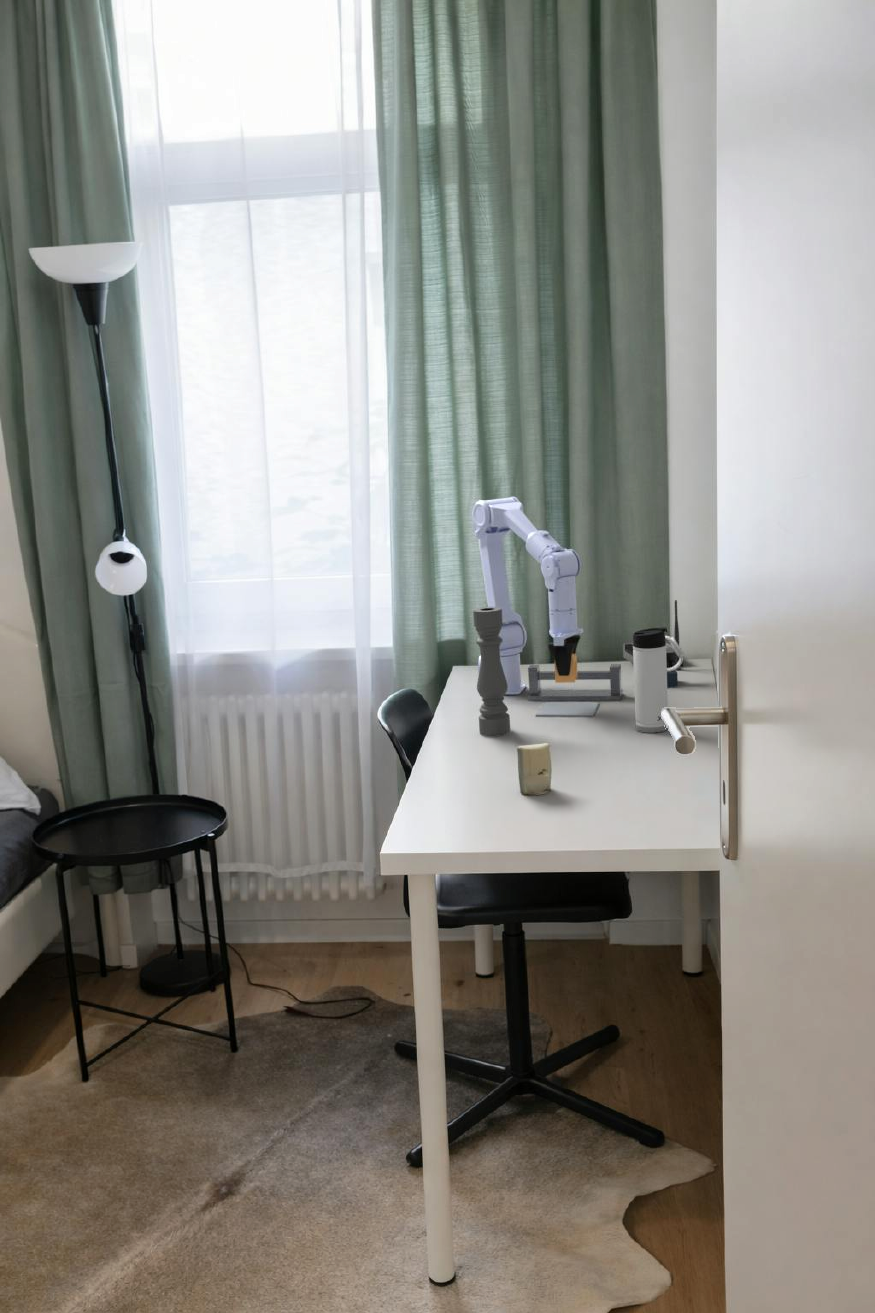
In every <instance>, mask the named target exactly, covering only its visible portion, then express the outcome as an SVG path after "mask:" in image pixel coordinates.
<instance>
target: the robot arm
mask: <svg viewBox="0 0 875 1313" xmlns="http://www.w3.org/2000/svg"><path fill="white" fill-rule="evenodd" d="M471 519H472V524H473V531H474V537H475V538H476V539H477V540H478V546H479V553H480V562H481V568H482V569H481V570H482V574H483V581H484V582H483V583H484V589H485V597H486V603H487V607H500V608H502V620H503V623H504V624H503V625H502V626H501V627H502V628H501V630H500V633H499V637H501V638H502V639H503V641H502V643H501V644H500V646H499V647H500V661H501V664H502V668H503V671H504V675H505V678H506V681H507V684H508V688H507V692H506V694H505V695H521V693H522V692H523V690H524V689H525V688H526V687H527V685H526V684H524V683H523V684H522V674H521V673H522V672H521V657H520V656H521V655H520V653H522V652H523V649H524V648H525V646H526V644H527V639H528V635H527V630H526V628H525V626H524V623H523V619H522V616H521V615H520V614H519V613H517V612H516V611H514V610H513V609H512V606H511V598H510V591H509V583H508V576H507V569H506V562H505V555H504V548H503V540H504V539H505V537H506V536H507V535H508V534H510V533H511V531H512V532H513V533H514V534H516V535H517V536H518V537H519V538H520V539H522V540H523V541H524V542H525V550H526V551H527V552H528V553H529V554H530V556H531V557H532V558H533V559H534V560H535V561H536V562H537V563H538V564H540V570H541V574H542V576H543V578H544V585H545V588H546V589H547V591H548V592H547V594H548V611H549V612H548V613H549V614H548V616H549V630H548V632H549V635H550V636H551V637H552V638H553V639H552V640H553V641H549V642H548V643H547V646H548V649H549V651H550V653H551V654H552V657H553V660H555V663H556V667H557V671H558V674H559V676H569V673H570V668H571V658H572V654H577V653H576V652H577V649H578V648H577V647H578V644H579V641H580V639H581V635H580V634H583V633H584V628H579V626H578V611H577V608H578V606H577V590H576V587H577V585H576V577H577V576H579V574H580V573H581V568H582V567H581V566H582V565H581V560H580V556H579V555H578V553H577V552H576V551H575V550H574V549H572V548H569V549H567V548H564V547H563V546H561V545H560V544H559V543H558V542H557V540H555V539H554V537H553V536H552V535H551V534H550V532H548V530H543V529H542V530H538V529H537V528H536V526H535V525H534V524H533V523H532V521H530V519H529V518H528V516H527V515H526V514H525V512H524V505H523V503H522V502H520V500H519V499H518V498H517V497H516V496H510V497H503V498H494V499H487V500H484V499H482V500H477V501H476V502H475V504H474V506H473V509H472V510H471ZM555 663H554V664H555ZM480 664H481V655H479V657H478V664H477V666H478V667H477V669H478V673H479V670H480Z"/></svg>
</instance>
